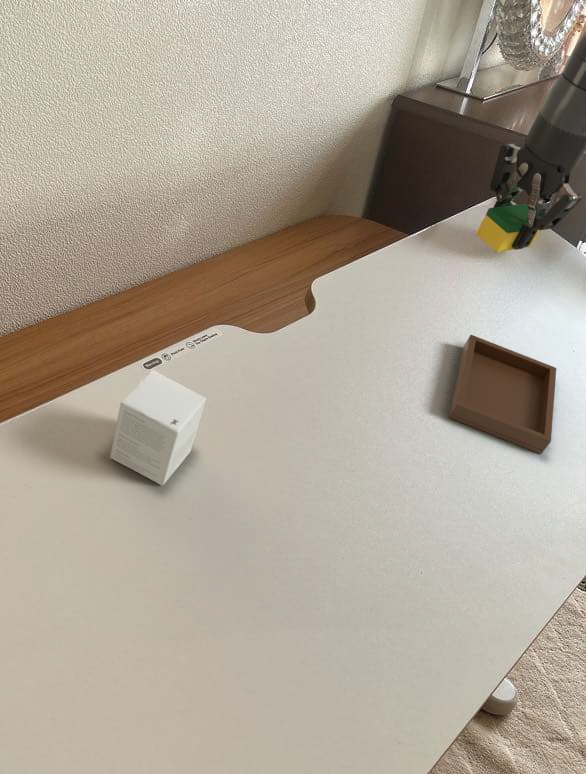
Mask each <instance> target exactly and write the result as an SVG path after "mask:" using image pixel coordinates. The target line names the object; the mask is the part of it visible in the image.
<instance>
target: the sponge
mask: <svg viewBox="0 0 586 774" xmlns="http://www.w3.org/2000/svg"><path fill="white" fill-rule="evenodd" d="M493 207H494V206H493ZM493 207H489V208H488V209H487V212H486V213H485V215H484V218H483V219H482V221H481V222H480V225H479V227H478V229H477V231H476V232H475V234H476V235H477V236H478V237H479V238H480V239H481V240H483V241H484V242H485V244H487V245H488V246H489V247H490V248H491V249H492V250H494V251H495V253H502V252H507V251H513V250H515V249H514V248H513V247H512V244H513V242H514V240H515V239H516V237H517V235H518V233H519V231H520V230H521V228H522V226H523V224H525V223H526V219H527V215H528V211H529V208H528V205H526V204H525V203H517V204H512V205H509V206H501V207H494V208H493ZM540 232H541V230H538V231H537V233H536V235H535V236H534V238H533V240H532V242H531V243H530V245H529V246H528V247H525V249H526V248H530V247H532V246H533V244H534V242H535V241H536V239H537V238H538V236H539V234H540Z"/></svg>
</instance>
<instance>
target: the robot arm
mask: <svg viewBox="0 0 586 774" xmlns="http://www.w3.org/2000/svg"><path fill="white" fill-rule="evenodd" d="M585 153H586V29H585V30H584V31H583V33H582V34H581V36H580V37H579V39H578V40H577V42H576V44H575V46H574V47H573V49H572V52H571V54H570V56H569V57H568V60H567V61H566V63H565V65H564V67H563V69H562V71H561V73H560V75H559V76H558V78H557V79H556V81H555V82H554V84H553V85H552V87H551V88H550V90H549V92H548V94H547V96H546V98H545V100H544V102H543V104H542V106H541V108H540V109H539V111H538V114H537V115H536V117H535V119H534V121H533V123H532V125H531V127H530V129H529V131H528V133H527V135H526V137H525V139H524V144H523V146H521V147H520V145H519V144H518V143H507V144H502V145H501V146H500V148H499V152H498V154H497V159H496V162H495V166H494V171H493V174H492V177H491V181H490V184H489V188H490V190H491V191H493V192H495V194H496V196H495V197H496V198H495V199H496V201H495V203H494V205H493V207H492V208H494V207H501V206H509V205H513V203H512V201H514V200H515V198H517V197H518V196H519V195H520V194H521V193H522V192H523V191H524V192H526V194H527V196H528V201H527V207H528V208H529V211H528V215H527V219H526V223H525V224H523V226H522V228H521V230H520V231H519V233H518V235H517V237H516V239H515V240H514V242H513V244H512V247H513V248H514V250H515V251H517V250H523V249H524V248H525V247H526V248H529V247H528V246H529V245H530V243H531V242H532V240H533V238H534V236H535V235H536V233H537V231H538V230H540V231H545V230H552V229H555V228H556V227H557V226H558V225H560V223H561V222H562V221H563V220H564V219H565V218H566V217H567V216H568V215H569V213H571V212H572V210H573V209H574V208H575V207H577V206H578V204H579V203H580V202H581V201H582V194H581V193H580V192H575V191H574V190H573V188H572V187H571V185H570V182H571V175H572V172H573V170H574V169H575V168H576V167H577V166H578V164H579V163H580V162H581V160H582V158H583V156H584V155H585ZM515 165H516V171H515V172H514V169H515ZM558 192H559V194H558V196H557V197H556V198H555V195H556V193H558ZM554 198H555V204H554V205H553V202H554ZM540 199H541V200H540ZM526 248H525V249H526Z"/></svg>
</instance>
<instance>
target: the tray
mask: <svg viewBox="0 0 586 774" xmlns="http://www.w3.org/2000/svg"><path fill="white" fill-rule="evenodd" d="M457 370H458V372H457V376H456V380H455V385H454V390H453V395H452V401H451V405H450V408H449V409H450V410H449V414H448V419H451V420H453V421H456V422H458V423H461V424H463V425H466V426H468V427H470V428H473V429H476V430H479V431H481V432H484V433H487V434H489V435H491V436H494V437H496V438H499V439H502V440H504V441H507V442H509V443H512V444H514V445H517V446H519V447H522V448H524V449H526V450H528V451H531V452H534V453H537V454H539V455H542V454H543V453H544V451H546V449H547V447H548V446H549V445H550V443H551V441H552V432H553V431H552V430H553V418H554V404H555V394H556V393H555V392H556V390H555V389H556V378H557V367H555V366H553V365H550V364H549V363H548V364H547V363H545V362H542V361H540V360H537V359H535V358H532V357H530V356H528V355H525V354H522V353H520V352H517V351H514V350H511V349H510V348H507V347H504V346H502V345H499V344H497V343H494V342H492V341H488V340H486V339H484V338H481V337H478V336H476V335H474V334H470V335H469V336H468V338H467V340H466V342H465V343H464V345H463V347H462V351H461V356H460V361H459V365H458V369H457Z"/></svg>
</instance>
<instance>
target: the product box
mask: <svg viewBox="0 0 586 774" xmlns="http://www.w3.org/2000/svg"><path fill="white" fill-rule="evenodd" d="M206 402H207V397H205V396H203V395H201V394H199V393H197V392H195V391H193V390H191V389H189V388H187V387H186V386H184V385H182V384H180V383H178V382H176V381H174V380H172V379H171V378H169V377H168V376H167V377H166V376H165V375H163V374H161V373H160V372H158V371H156V370H154V369H152V370H151V371H150V372H149V373H148V374H146V376H145V377H144V378H143V379H142V380H141V381H140V382H139V383H138V384H137V385H136V387H134V389H133V390H131V392H129V393H128V394H127V396H125V398H124V399H122V401H120V404H119V410H118V415H117V420H116V425H115V429H114V434H113V439H112V443H111V444H112V445H111V450H110V456H109V458H110V459H111V460H112V461H115V462H117V463H119V464H121V465H123V466H125V467H127V468H128V469H130V470H132V471H134V472H137V473H138V474H140V475H141V476H143V477H145V478H147V479H149V480H151V481H153V482H154V483H156V484H158V485H160V486H164V485H165V484H166V483H167V481H168V480H169V479H170V478H171V476H172V475H173V474H174V473H175V471H177V469H178V468H179V466H180V465H181V464H183V462H184V460H185V459H186V458H187V457H188V455H189V454H190V453H191V451H192V448H193V444H194V441H195V438H196V435H197V431H198V428H199V425H200V422H201V419H202V415H203V412H204V408H205V405H206Z"/></svg>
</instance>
